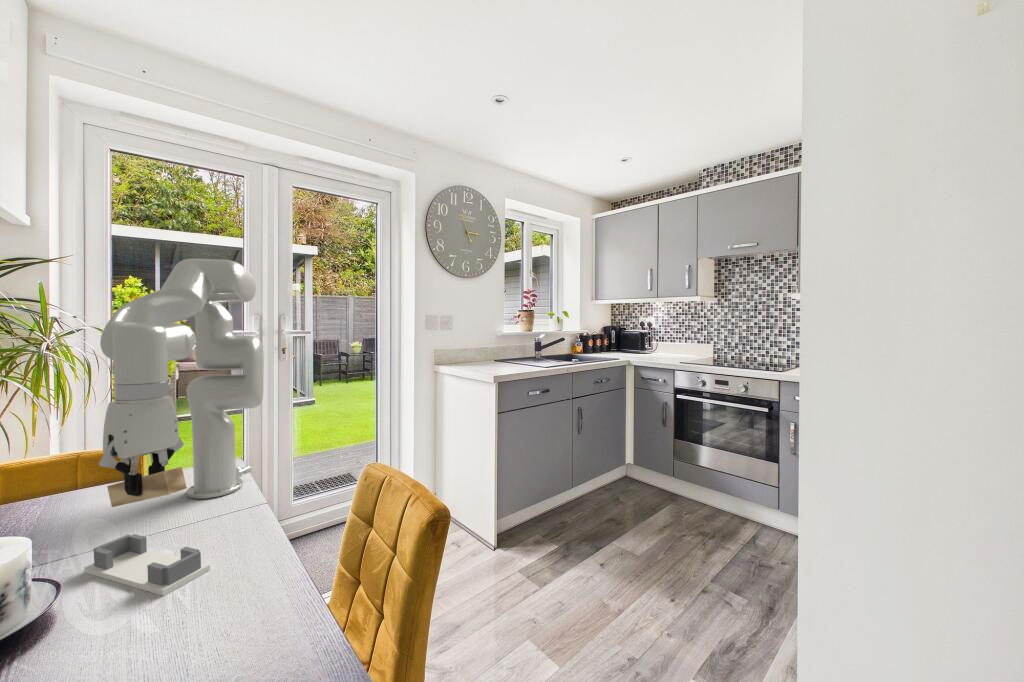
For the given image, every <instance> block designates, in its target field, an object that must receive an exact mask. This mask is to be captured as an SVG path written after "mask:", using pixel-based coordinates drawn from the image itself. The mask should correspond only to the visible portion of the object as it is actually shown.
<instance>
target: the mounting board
mask: <svg viewBox="0 0 1024 682" xmlns="http://www.w3.org/2000/svg"><path fill="white" fill-rule="evenodd" d="M147 547H148V546H147V536H144V535H140V534H139V535H138V534H135V533H133V534H126V535H123V536H121V537H118V538H116V539H113V540H111V541H108V542H106V543H103V544H101V545H99V546H96V547H93V559H94V560H93V563H90V564H88V565H86V566H84V567H83V568H84V569H83V570H84V571H83V572H84V573H85V574H89V575H91V576H94V577H95V576H96V577H99V578H102V579H105V580H108V581H113V582H115V583H118V584H122V585H125V586H128V587H132V588H135V589H138V590H141V591H146V592H147V593H152V594H155V595H159V596H162V597H164V596H166V595H168V594H170V593H171V592H173V591H175V590H177V589H179V588H181V587H182V586H184V585H186V584H188V583H189V582H192V581H193V580H196V579H197V578H199V577H200V576H201V575H204V574H205V573H207V572H209V571H210V570H211V569H210V567H211V566H210V564H208V563H205V562H204V563H203V562H202V559H201V558H202V556H201V555H202V554H201V551H200V549H197V548H192V547H189V546H184V547H182V548H181V549H180V557H179V556H176V555H172V554H168V553H164V552H161V551H156V550H153V549H149V548H147Z"/></svg>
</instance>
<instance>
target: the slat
mask: <svg viewBox="0 0 1024 682" xmlns="http://www.w3.org/2000/svg"><path fill="white" fill-rule="evenodd" d="M141 479H142V494H141V495H140V496H132V495H127V493H126V491H125V485H124V481H119V482H117V483H114V484H111V485H107V491H108V492H107V493H108V496H109V500H110V501H109V502H110V504H111V508H114V507H119V506H124V505H127V504H128V505H129V504H133V503H138V502H142V501H146V500H150V499H151V500H152V499H154V498H155V499H156V498H160V497H165V496H169V495H172V494H175V493H177V492H181V491H183V490H186V489H188V488H187V483H186V479H185V475H184V471H183V467H182V466H180V467H175V468H172V469H168V470H165V471H163V472H159V473H155V474H151V475H148V474H147V475H142V478H141Z"/></svg>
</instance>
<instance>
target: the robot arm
mask: <svg viewBox="0 0 1024 682" xmlns="http://www.w3.org/2000/svg"><path fill="white" fill-rule="evenodd" d="M256 292H257V284H256V280H255V278H254V276H253V275H252V273H251V271H249V270H248V269H247V268H246V267H244V265H242V264H240V263H239V262H237V261H234V260H230V259H219V258H218V259H216V258H214V259H213V258H186V259H182V260H181V261H179V262H177V263H176V265H175V266H174V267H173V269H172V270H171V272H170V274H169V275H168V277H167V278H166V280H165V282H164V283H163V285H162V286H161V288H160V289H159V290H156V291H153V292H150V293H148V294H145V295H143V296H141V297H138V298H136V299H134V300H131V301H129V302H127V303H125V304H124V305H122V306H120V307H119V308H118V309H117V310H116V311H115V312H114V313H113V314H112V316H111V318H110V319H109V320H108V321H107V323H106V325H105V326H104V328H103V331H102V333H101V336H100V340H99V341H100V342H99V343H100V344H99V345H100V349H101V351H102V353H103V355H104V356H105V357H106V358H108V359H110V360H112V364H113V386H114V387H113V390H114V401H111V402H108V405H107V408H106V412H105V417H104V422H103V433H102V453H103V455H102V456H101V459H100V460H99V463H98V465H99V467H103V468H108V469H114V470H116V471H118V472H120V474H122V475H123V477H124V478H123V480H124V485H125V491H126V493H127V495H132V496H140V495H141V494H142V479H141V478H142V476H143V475H142V473H139V463H140V462H139V460H140V457H142V456H143V457H144V456H147V455H150V461H151V462H150V463H151V465H148V468H147V470H148V474H147V475H151V474H155V473H159V472H163V471H166V466H168V464H169V461H170V459H171V458H172V457H173V456H174V455H175V453H176V452H178V451H179V450H180V449H181V448H182V447H184V442H183V440H182V439H181V437H180V434H179V431H180V428H179V421H178V414H177V409H176V405H175V402H174V398H173V396H171V395H170V390H173V389H175V387H176V386H175V382H174V381H171V382H170V380H169V366H168V365H169V364H168V363H169V361H172V362H173V361H182V360H185V359H187V358H189V357H190V356H191V355H192V354H193V353H194V354H195V356H194V358H195V359H194V360H195V364H196V366H197V367H198V368H199V369H202V370H206V371H235V370H240V371H242V372H243V374H214V375H213V374H210V375H203V376H198V377H196V378H193V379H192V380H191V381H190V382H189V383H188V384H187V387H186V399H187V402H188V408H189V412H190V419H191V430H192V431H191V433H192V435H191V436H192V462H193V463H192V465H193V467H192V468H193V485H191V486H190V487H189V488H187V490H186V496H187V497H188V498H189V499H195V500H196V499H197V500H198V499H199V500H202V499H203V500H204V499H211V498H217V497H223V496H225V495H229V494H232V493H234V492H237V491H238V490H240V489H241V488H242V487H243V483H244V482H243V480H242V479H241V477H242V476H243V475H246V474H249V473H251V472H252V467H251V466H250V465H248V466H244V467H242V468H240V467H236V466H237V465H236V430H235V422H234V421H233V419H232V418H231V416H229V414H228V413H227V411H229V410H230V411H231V410H243V409H246V410H247V409H254V408H257V407H258V406H259V407H260V405H261V404H262V401H263V398H264V363H265V361H264V347H263V344H262V342H261V340H260V339H259V338H258V337H256V336H253V335H234V319H233V318H234V317H233V316H232V315H231V314H230V312H229V311H228V309H226V307H225V306H224V305H223V304H221V303H248V302H250V301H252V300H253V299H254V298H255V296H256ZM220 302H221V303H220ZM192 318H195V332H194V331H193V330H192V328H190V327H189V326H188V325H185V324H182V323H178V322H181V321H185V320H188V319H192ZM116 457H118V459H120V461H117V460H116ZM239 488H240V489H239Z"/></svg>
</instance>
